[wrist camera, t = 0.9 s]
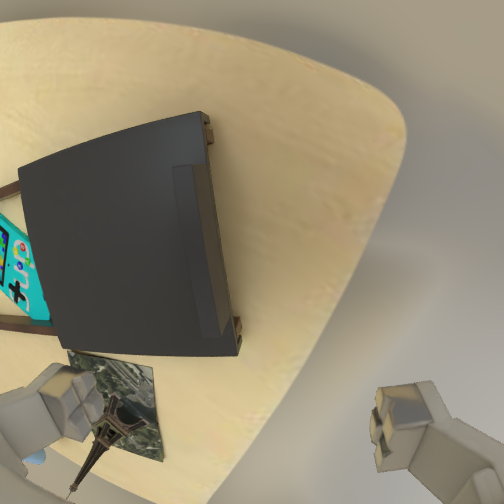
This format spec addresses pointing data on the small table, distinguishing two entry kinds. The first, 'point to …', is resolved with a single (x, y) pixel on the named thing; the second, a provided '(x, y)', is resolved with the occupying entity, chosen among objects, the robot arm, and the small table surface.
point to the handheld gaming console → (20, 272)
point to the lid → (132, 242)
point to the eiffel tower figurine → (121, 410)
